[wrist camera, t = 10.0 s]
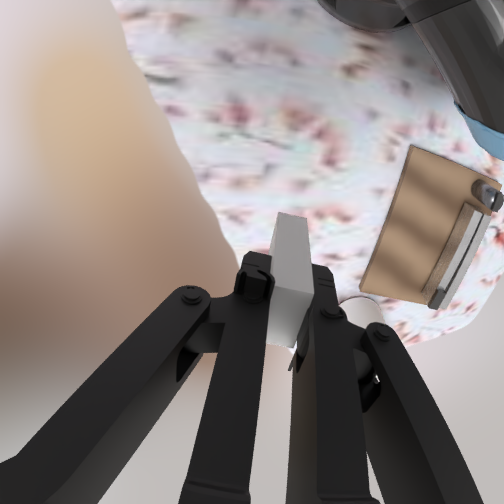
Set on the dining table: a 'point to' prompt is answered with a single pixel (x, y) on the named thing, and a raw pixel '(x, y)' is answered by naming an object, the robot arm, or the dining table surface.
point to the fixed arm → (494, 203)
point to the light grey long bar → (451, 256)
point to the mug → (362, 311)
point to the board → (419, 224)
